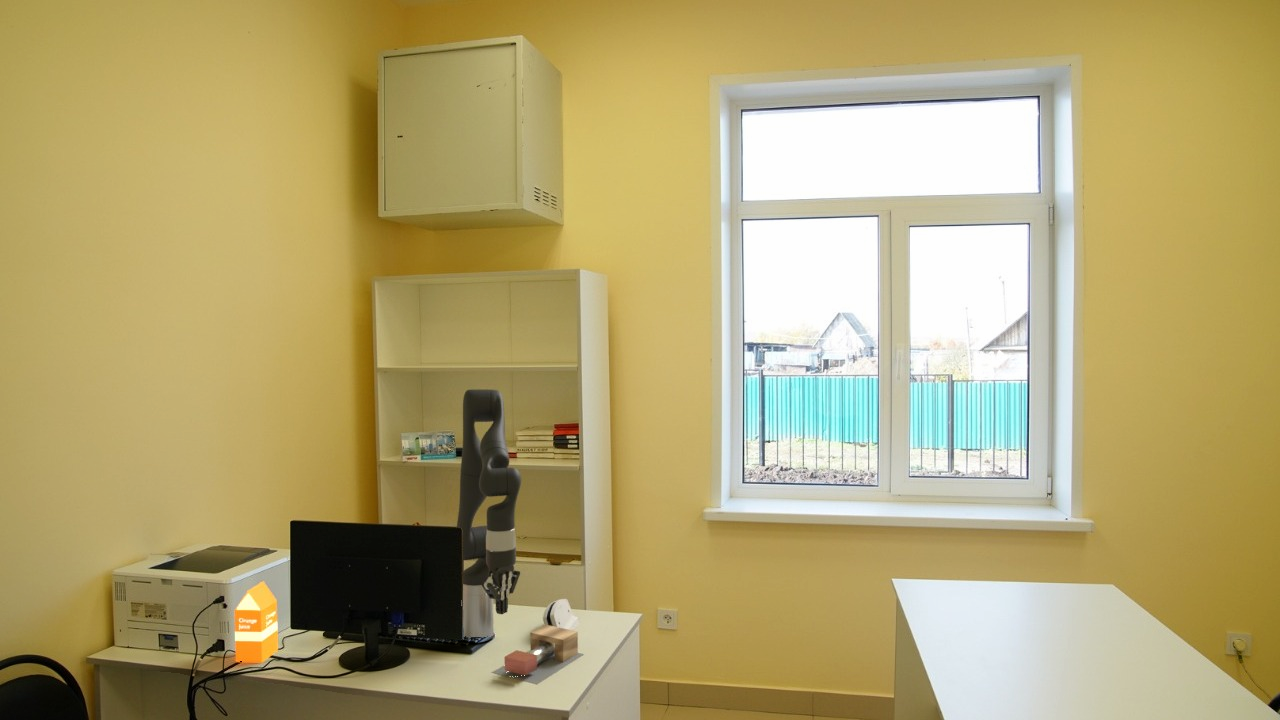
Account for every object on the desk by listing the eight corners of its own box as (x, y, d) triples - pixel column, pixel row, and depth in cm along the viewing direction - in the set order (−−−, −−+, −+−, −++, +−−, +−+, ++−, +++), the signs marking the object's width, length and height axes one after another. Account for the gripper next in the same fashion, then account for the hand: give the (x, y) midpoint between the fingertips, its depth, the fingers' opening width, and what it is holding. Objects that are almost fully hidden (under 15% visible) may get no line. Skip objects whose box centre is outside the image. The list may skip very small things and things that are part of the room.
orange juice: (235, 662, 225) (233, 590, 224) (252, 649, 234) (250, 580, 233) (262, 662, 225) (260, 591, 224) (278, 650, 233) (277, 581, 233)
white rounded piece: (565, 642, 238) (554, 609, 238) (550, 646, 239) (539, 614, 239) (580, 621, 254) (569, 591, 255) (566, 626, 255) (555, 595, 255)
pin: (525, 679, 212) (525, 661, 212) (504, 673, 215) (504, 656, 215) (558, 658, 225) (558, 642, 225) (539, 653, 228) (538, 637, 228)
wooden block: (530, 654, 228) (530, 632, 228) (545, 646, 234) (545, 624, 234) (563, 662, 223) (563, 639, 223) (577, 653, 229) (577, 631, 229)
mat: (491, 673, 217) (491, 672, 217) (541, 644, 236) (541, 644, 236) (537, 685, 209) (537, 684, 209) (584, 654, 228) (584, 654, 228)
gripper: (506, 538, 215) (506, 602, 216) (472, 550, 204) (473, 618, 204) (528, 541, 212) (529, 607, 212) (495, 554, 200) (496, 623, 201)
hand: (501, 612), depth 208 cm, fingers closed
